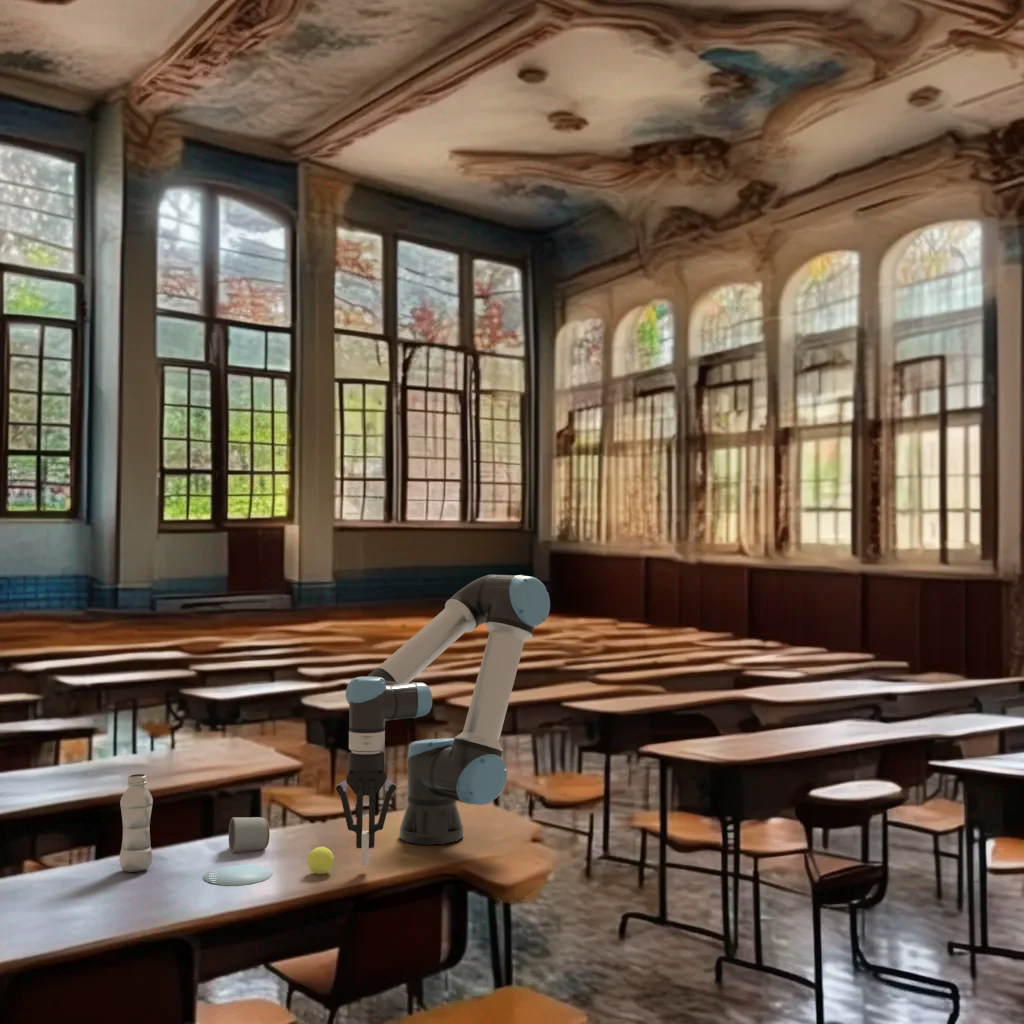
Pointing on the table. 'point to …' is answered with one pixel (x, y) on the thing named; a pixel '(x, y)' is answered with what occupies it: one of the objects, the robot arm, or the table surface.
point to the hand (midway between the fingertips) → (365, 863)
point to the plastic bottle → (136, 825)
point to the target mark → (239, 875)
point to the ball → (320, 860)
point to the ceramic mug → (248, 834)
